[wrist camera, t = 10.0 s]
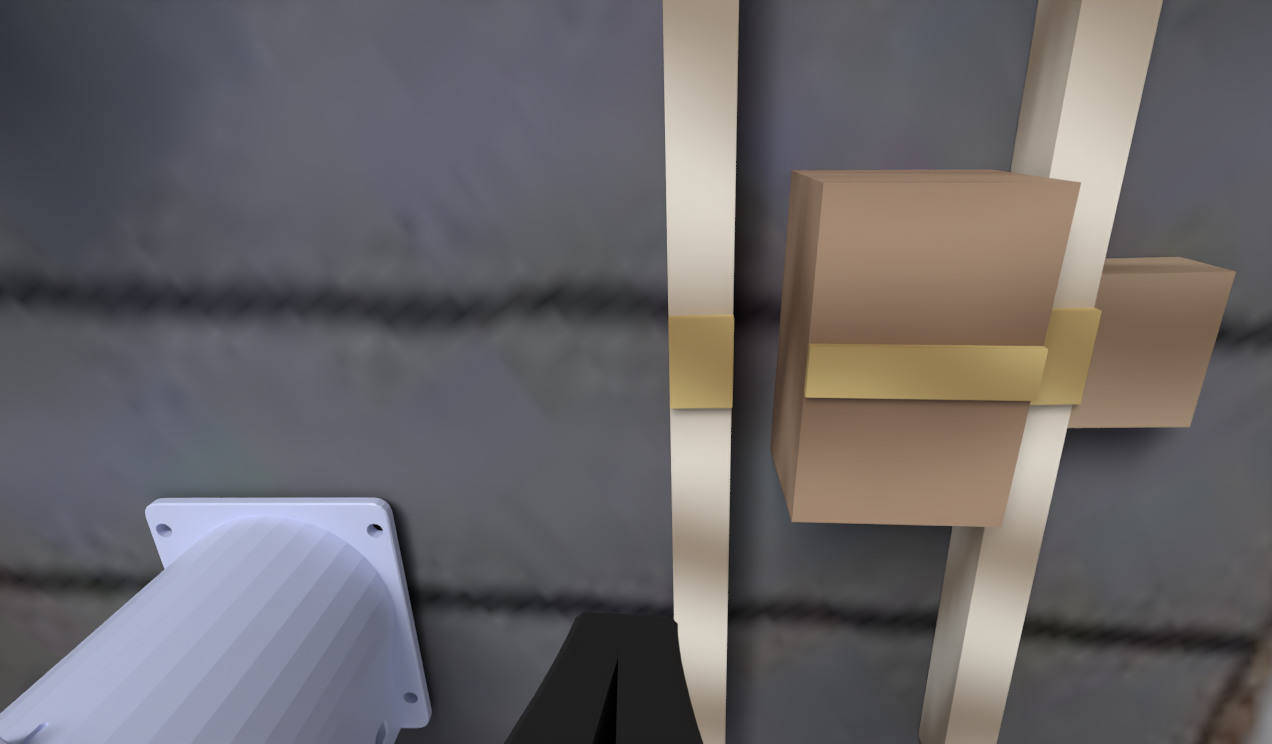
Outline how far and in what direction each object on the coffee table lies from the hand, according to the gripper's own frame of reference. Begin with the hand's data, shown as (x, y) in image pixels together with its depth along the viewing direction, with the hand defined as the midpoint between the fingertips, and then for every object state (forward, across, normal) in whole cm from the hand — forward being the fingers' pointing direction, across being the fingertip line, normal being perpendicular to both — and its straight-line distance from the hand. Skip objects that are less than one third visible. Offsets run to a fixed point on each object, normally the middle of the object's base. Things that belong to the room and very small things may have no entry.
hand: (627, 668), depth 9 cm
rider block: (+11, -6, -2) cm, 12 cm away
